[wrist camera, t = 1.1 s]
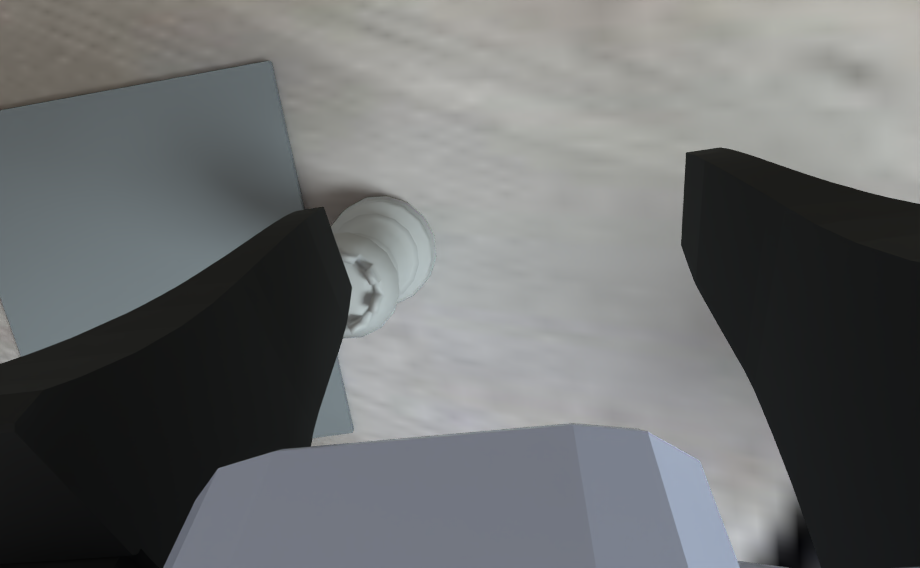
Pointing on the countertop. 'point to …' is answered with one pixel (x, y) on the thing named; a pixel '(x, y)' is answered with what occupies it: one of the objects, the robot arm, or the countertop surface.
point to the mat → (140, 200)
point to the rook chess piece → (382, 258)
